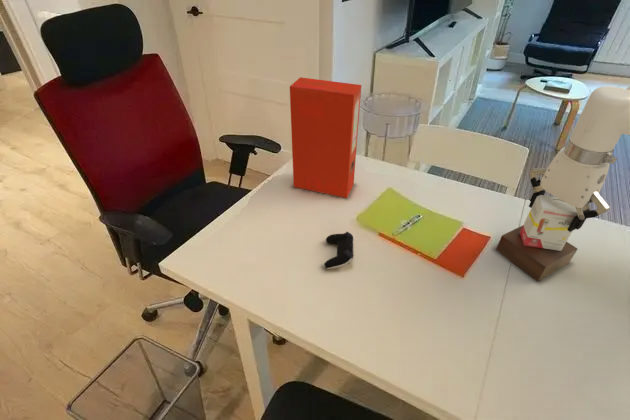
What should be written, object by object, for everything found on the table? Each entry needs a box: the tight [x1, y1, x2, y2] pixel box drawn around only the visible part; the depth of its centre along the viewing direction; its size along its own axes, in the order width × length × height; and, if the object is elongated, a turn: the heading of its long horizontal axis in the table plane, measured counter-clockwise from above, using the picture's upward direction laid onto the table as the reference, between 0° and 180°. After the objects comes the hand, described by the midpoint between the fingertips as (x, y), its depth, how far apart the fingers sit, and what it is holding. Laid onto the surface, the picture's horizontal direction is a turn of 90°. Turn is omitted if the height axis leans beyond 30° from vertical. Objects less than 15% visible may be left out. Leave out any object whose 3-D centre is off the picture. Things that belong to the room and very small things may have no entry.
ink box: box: [520, 194, 578, 251], centre depth 86 cm, size 9×5×12 cm, turn 76°
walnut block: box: [495, 225, 578, 282], centre depth 92 cm, size 12×12×5 cm
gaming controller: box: [323, 231, 355, 270], centre depth 92 cm, size 11×4×7 cm
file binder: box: [289, 77, 362, 199], centre depth 107 cm, size 8×17×32 cm, turn 70°
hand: (552, 216), depth 85 cm, fingers closed on ink box, 9 cm apart
